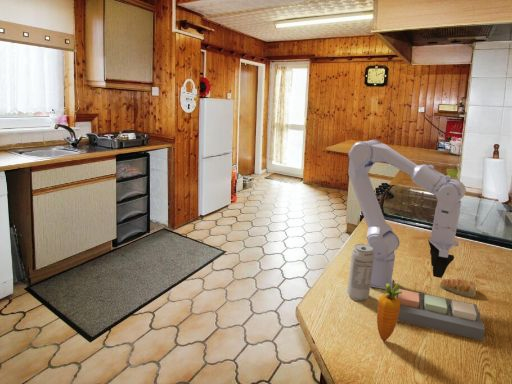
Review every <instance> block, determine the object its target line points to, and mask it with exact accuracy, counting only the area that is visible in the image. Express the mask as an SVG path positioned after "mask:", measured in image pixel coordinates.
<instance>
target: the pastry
mask: <svg viewBox="0 0 512 384" xmlns="http://www.w3.org/2000/svg"><path fill="white" fill-rule="evenodd" d="M439 285H440V286H441V288H443V290H445V291H448V292H449V293H453V294H455V295H460V296H464V297H467V298H475V296H476V293H477V292H476V282H474V281H473V280H471V281H470V280H468V279H464V278H445V279H442V280H441V281H440V284H439Z"/></svg>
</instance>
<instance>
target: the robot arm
mask: <svg viewBox="0 0 512 384" xmlns="http://www.w3.org/2000/svg"><path fill="white" fill-rule="evenodd" d="M347 156H348V158H349V162H348V177H349V180H350V182H351V185H352V187H353V190H354V194H355V196H356V198H357V202H358V205H359V206H360V210H361V212H362V215H363V217H364V221H365V224H366V226H367V232H366V239H367V245H369V246H371V247H372V248H373V253H374V261H373V269H372V276H371V284H370V287H372V288H377V289H381V290H386V284H389V285H390V288H391V291H392V289H393V284H394V283H393V281H394V280H393V279H394V278H393V272H394V267H395V266H394V265H395V259H396V255H395V251H396V250H397V249H398V248H399V246H400V243H401V242H400V239H399V237H398V235H397V234H396V233H395V232H394V230H393V228H392V226H391V225H390V224H388V223H387V222H386V220H385V216H384V214H383V212H382V211H383V210H382V209H381V206H380V203H379V200H378V198H377V195H376V192H375V190H374V187H373V184H372V181H371V179H370V177H369V176H370V175H369V172H370V171H371V170H372V167H373V165H374V164H375V163H383V162H384V163H387V164H389V165H390V166H391V167H394V168H396V169H398V170H400V171H402V172H403V173H405V174H407V175H409V176H410V178H411V181H412V183H413V184H415V185H417V186H419V187H421V189H424V190H425V191H426V192H428V193H430V194H431V195H434V196H435V198H436V199H437V202H436V206H435V211H434V218H433V222H432V226H431V227H432V229H431V234H430V237H429V239H428V245H429V249H430V250H429V254H430V261H431V262H430V263H431V267H432V276H433V277H435V278H438V279H439V278H440V279H442V278H443V276H444V274H445V272H446V270H447V269H448V266H449V264H451V263H452V261H454V259H455V255H454V254H450V251H451V250H452V249H453V248H454V247H459V246H460V242H459V241H455V238H456V236H457V235H456V233H457V229H458V223H459V219H460V213H461V207H462V199H463V198H464V197H465V195H466V191H467V190H466V186H465V184H464V183H463V182H461V180H460V179H457V178H452V177H451V176H450V175H448V174H447V175H445V174H443V173H442V172H439V171H438V170H436V169H435V165H432V164H428V165H427V164H425V163H424V164H421V165H420V164H419V165H418V164H416V163H415V162H414V161H412V160H410V159H409V158H407V157H405V156H404V155H402V154H401V153H399V152H398V151H396V150H395V149H393V148H392V147H390V146H388V145H387V144H385V143H383V142H380V141H379V140H377V139H369V140H365V141H357V142H355V143H354V144H353V145H352V146H351V148H350V150H349V152H348V153H347Z"/></svg>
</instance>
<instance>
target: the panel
mask: <svg viewBox="0 0 512 384" xmlns="http://www.w3.org/2000/svg"><path fill="white" fill-rule="evenodd" d="M394 287H395V286H392V290H391V292H392V291H393V290H394ZM399 289H402V290H407V291H411V292H416V293H419V307H418V308H415V307H410V306H406V305H401V304H400V310H399V315H398V320H397V322H401V323H406V324H410V325H414V326H418V327H422V328H426V329H430V330H435V331H440V332H444V333H448V334H452V335H456V336H459V337H465V338H469V339H473V340H477V341H484V336H485V332H486V328H485V326H484V322H483V320H482V316H481V314H480V311H479V308H478V305H477V304H476V303H471V302H465V301H460V300H456V299H451V298H447V297H442V296H437V295H432V294H430V295H431V296H435V297H440V298H445V299H446V304H447V312H446V314H442V313H437V312H433V311H428V310H424V309H423V301H424V296H425V294H426V295H429V294H428V293H423V292H418V291H414V290H413V291H412V290H409V289H404V288H399V287H398V288H397V290H396V291H399ZM395 297H396V298H398V294H397V295H396V296H395ZM452 300H454V301H459V302H464V303H469V304H473V305H474V308H475V311H476V314H477V316H476V320H475V321H473V320H469V319H464V318H460V317H455V316H452V315H451V310H450V306H451V301H452Z"/></svg>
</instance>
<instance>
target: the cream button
mask: <svg viewBox="0 0 512 384" xmlns="http://www.w3.org/2000/svg"><path fill="white" fill-rule="evenodd" d="M454 300H455V299H452V301H451V306H450V310H451V315H452V316H455V317H460V318H464V319H469V320H473V321H475V320H476V316H477V314H476V311H475V308H474V305H473V304H474V303H471V304H469V303H470V302H467V303H464V302H465V301H462V302H459V301H460V300H457V301H454Z"/></svg>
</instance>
